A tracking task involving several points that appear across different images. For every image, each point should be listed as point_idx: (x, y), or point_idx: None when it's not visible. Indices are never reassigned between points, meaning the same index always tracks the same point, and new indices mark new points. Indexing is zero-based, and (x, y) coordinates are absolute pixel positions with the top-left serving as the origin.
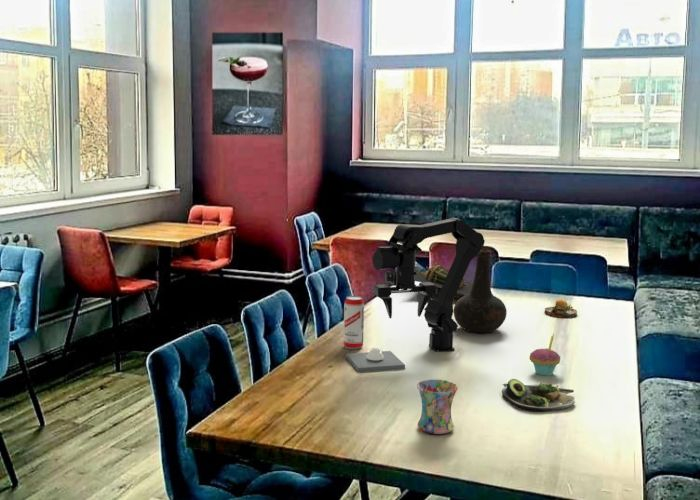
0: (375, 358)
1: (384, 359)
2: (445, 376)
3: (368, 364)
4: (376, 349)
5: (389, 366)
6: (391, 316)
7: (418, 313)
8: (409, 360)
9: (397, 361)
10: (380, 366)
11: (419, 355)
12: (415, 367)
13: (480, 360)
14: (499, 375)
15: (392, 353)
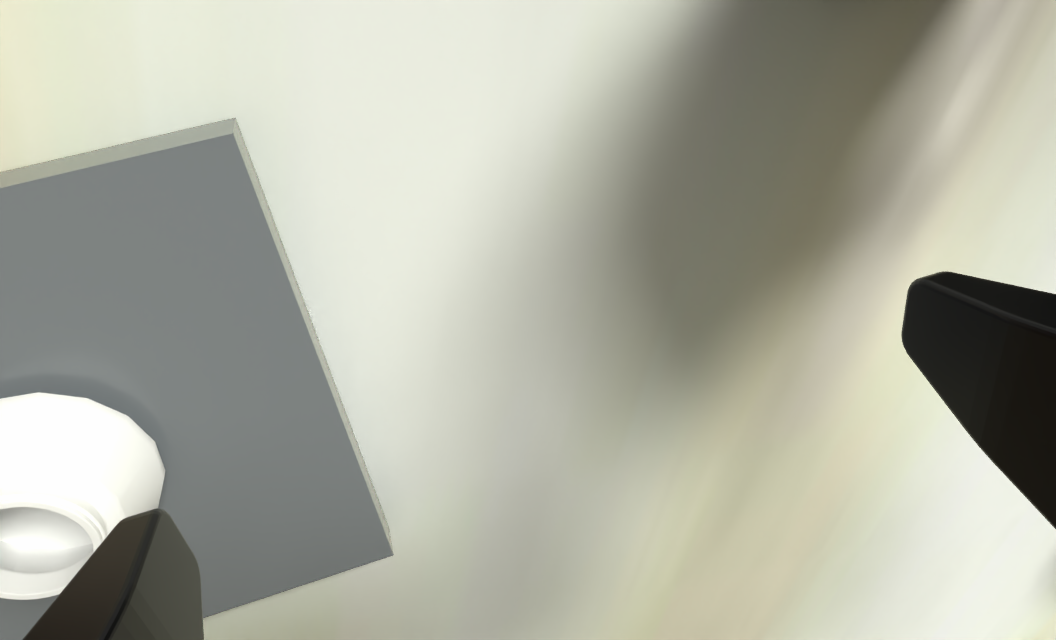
0: (68, 562)
1: (177, 459)
2: (656, 599)
3: (11, 615)
4: (37, 495)
5: (244, 598)
6: (200, 629)
7: (956, 363)
8: (458, 310)
9: (324, 491)
10: None
11: (597, 133)
12: (485, 480)
13: (1047, 251)
14: (969, 520)
15: (267, 247)
